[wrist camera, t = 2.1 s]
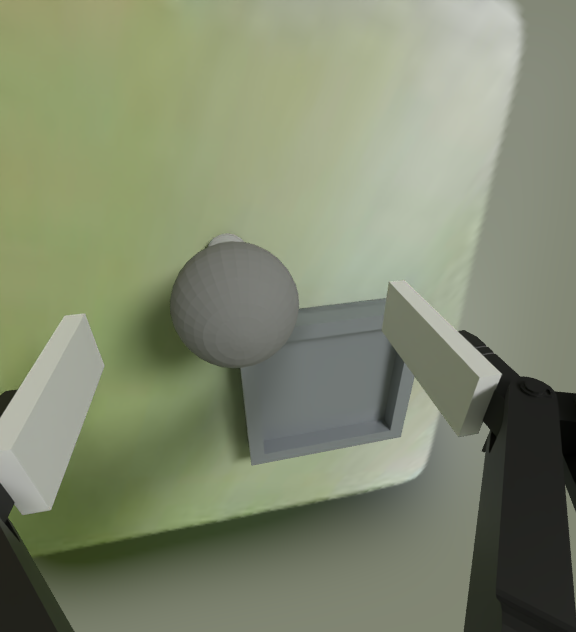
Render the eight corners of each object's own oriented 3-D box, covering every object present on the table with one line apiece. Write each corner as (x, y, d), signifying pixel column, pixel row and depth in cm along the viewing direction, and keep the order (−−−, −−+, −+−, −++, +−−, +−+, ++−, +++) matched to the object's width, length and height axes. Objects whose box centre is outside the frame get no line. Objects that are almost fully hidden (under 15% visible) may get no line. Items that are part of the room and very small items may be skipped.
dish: (248, 444, 33) (251, 465, 31) (234, 316, 26) (236, 334, 24) (390, 419, 36) (400, 436, 34) (414, 294, 28) (430, 308, 26)
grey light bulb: (252, 302, 25) (279, 405, 17) (166, 277, 23) (148, 382, 15) (287, 224, 23) (337, 300, 15) (194, 187, 21) (191, 253, 12)
